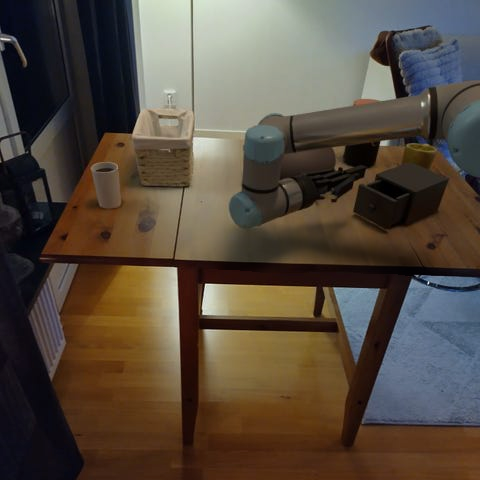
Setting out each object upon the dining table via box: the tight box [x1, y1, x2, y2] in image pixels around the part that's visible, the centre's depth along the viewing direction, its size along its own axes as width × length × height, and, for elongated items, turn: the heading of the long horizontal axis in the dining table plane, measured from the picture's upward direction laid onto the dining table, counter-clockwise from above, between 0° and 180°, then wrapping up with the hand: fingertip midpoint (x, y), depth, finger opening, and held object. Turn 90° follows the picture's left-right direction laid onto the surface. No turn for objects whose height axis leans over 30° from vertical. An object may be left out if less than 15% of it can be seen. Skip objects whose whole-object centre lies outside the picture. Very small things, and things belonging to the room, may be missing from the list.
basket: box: [131, 108, 195, 188], centre depth 135 cm, size 24×16×15 cm
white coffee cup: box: [90, 161, 122, 210], centre depth 120 cm, size 7×7×10 cm
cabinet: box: [374, 162, 450, 227], centre depth 124 cm, size 15×13×10 cm
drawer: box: [352, 179, 412, 231], centre depth 120 cm, size 15×11×8 cm
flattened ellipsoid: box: [279, 147, 337, 180], centre depth 132 cm, size 25×25×15 cm
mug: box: [401, 142, 437, 171], centre depth 145 cm, size 12×10×10 cm
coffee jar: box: [343, 98, 382, 168], centre depth 145 cm, size 11×11×18 cm
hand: (362, 171), depth 113 cm, fingers closed
